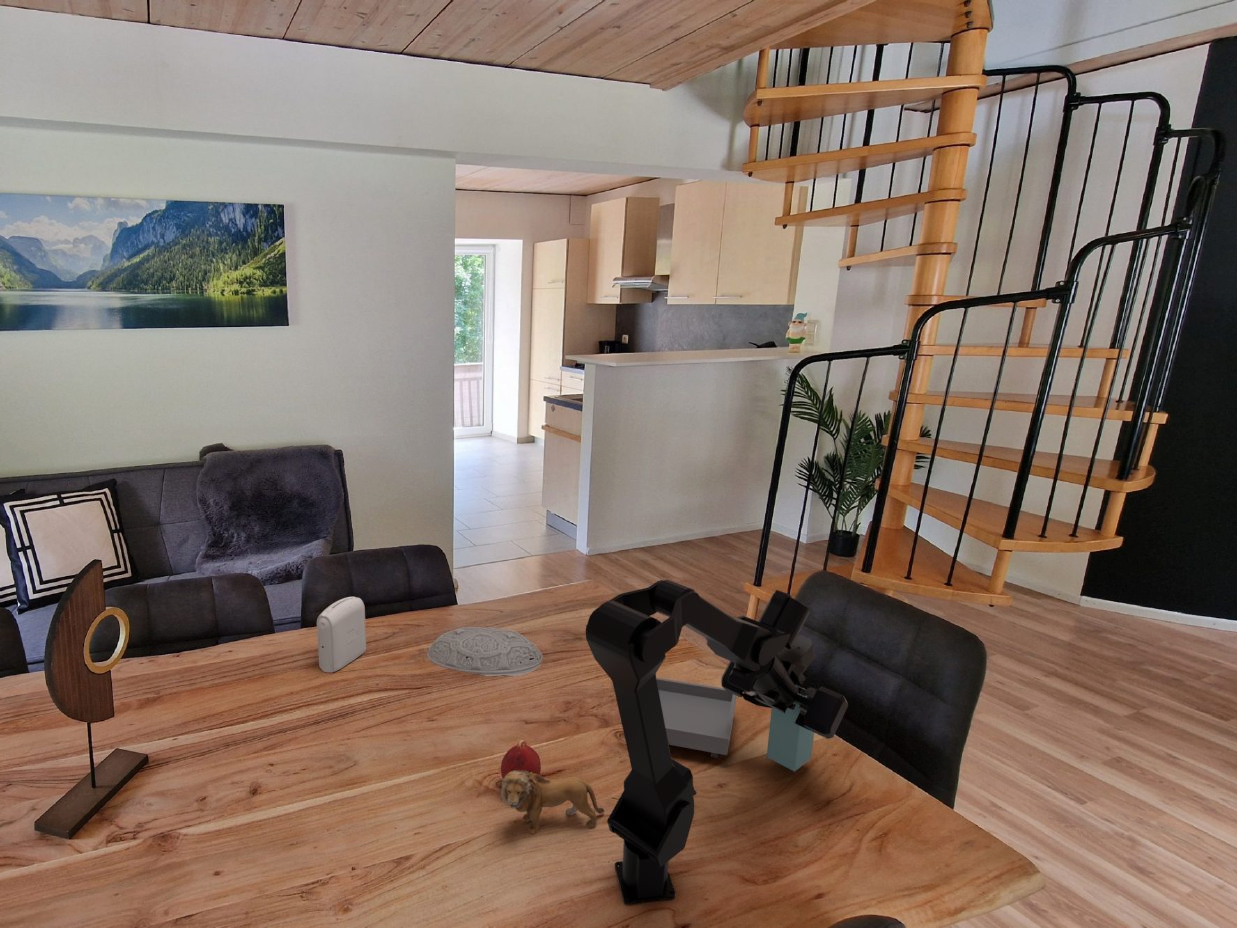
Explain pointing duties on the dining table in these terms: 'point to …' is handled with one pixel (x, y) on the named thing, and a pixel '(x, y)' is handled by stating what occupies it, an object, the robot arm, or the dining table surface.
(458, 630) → the grey carved oval dome
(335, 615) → the photo printer
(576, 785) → the lion figurine
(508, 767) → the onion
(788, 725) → the light blue block
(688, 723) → the grey footed tray
